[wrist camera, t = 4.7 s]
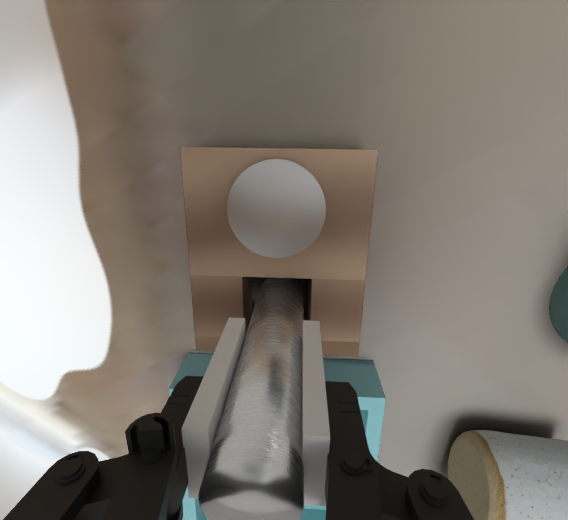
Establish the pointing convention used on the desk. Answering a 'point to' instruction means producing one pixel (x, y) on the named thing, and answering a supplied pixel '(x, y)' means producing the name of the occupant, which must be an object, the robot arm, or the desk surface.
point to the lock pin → (262, 418)
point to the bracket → (560, 306)
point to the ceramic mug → (510, 475)
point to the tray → (335, 370)
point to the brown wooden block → (279, 234)
